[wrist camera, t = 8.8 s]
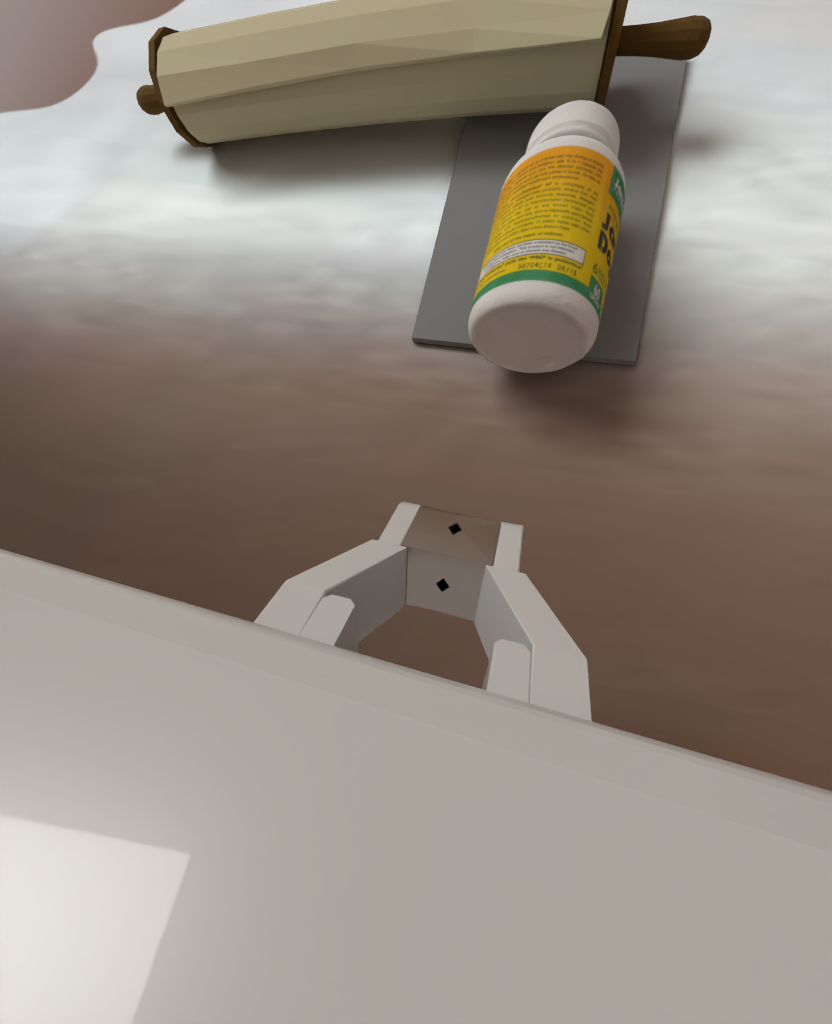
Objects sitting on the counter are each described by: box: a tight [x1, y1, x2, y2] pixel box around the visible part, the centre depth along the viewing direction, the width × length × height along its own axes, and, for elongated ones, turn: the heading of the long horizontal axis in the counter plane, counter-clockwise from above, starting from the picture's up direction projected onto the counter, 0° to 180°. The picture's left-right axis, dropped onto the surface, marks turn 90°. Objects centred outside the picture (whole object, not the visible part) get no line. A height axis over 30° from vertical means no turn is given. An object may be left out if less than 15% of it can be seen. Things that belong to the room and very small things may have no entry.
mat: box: [412, 56, 686, 366], centre depth 20 cm, size 11×18×1 cm, turn 166°
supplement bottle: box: [468, 100, 626, 373], centre depth 17 cm, size 5×5×10 cm
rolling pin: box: [137, 0, 711, 148], centre depth 21 cm, size 32×6×5 cm, turn 78°
